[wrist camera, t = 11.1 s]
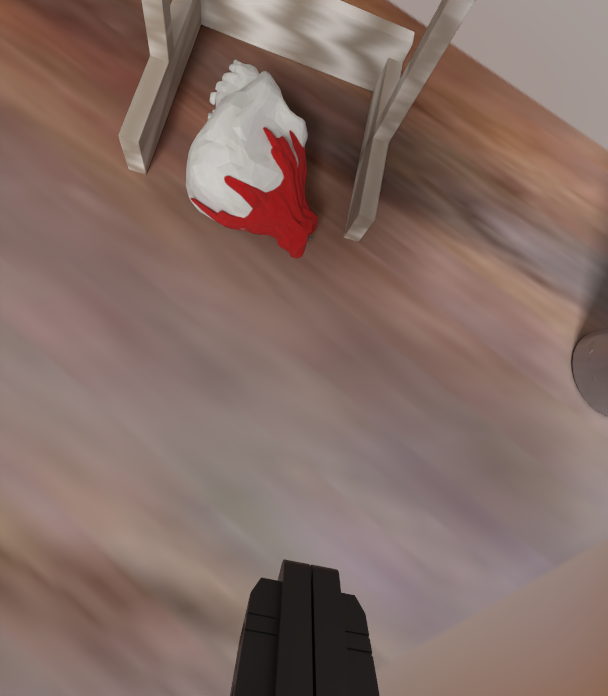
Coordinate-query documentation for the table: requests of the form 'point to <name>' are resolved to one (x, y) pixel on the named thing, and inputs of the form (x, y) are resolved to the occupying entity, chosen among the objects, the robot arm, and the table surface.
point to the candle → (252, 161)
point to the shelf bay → (303, 47)
